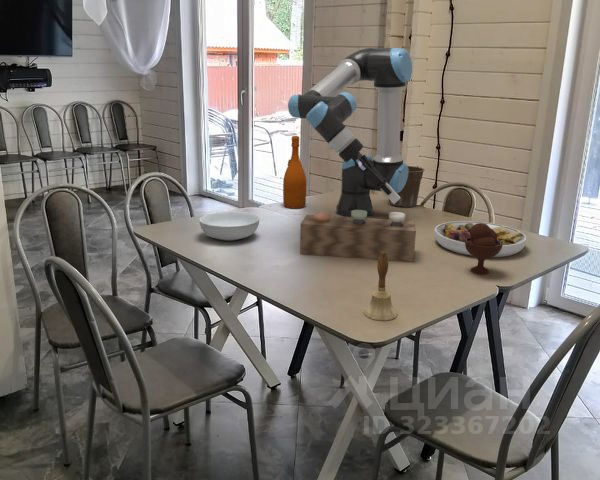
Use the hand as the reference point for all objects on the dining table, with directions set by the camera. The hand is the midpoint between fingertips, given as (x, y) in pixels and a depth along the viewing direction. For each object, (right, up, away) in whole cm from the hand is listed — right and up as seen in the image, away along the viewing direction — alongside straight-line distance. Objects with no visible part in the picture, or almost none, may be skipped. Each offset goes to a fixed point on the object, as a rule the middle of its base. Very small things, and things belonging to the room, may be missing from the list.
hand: (397, 200), depth 180 cm
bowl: (+31, -15, +16) cm, 38 cm away
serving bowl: (-55, -11, +21) cm, 60 cm away
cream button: (0, -10, +3) cm, 10 cm away
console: (-12, -16, +7) cm, 21 cm away
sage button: (-12, -9, +5) cm, 16 cm away
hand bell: (-11, -31, -39) cm, 51 cm away
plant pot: (+15, +3, +72) cm, 74 cm away
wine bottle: (-33, +2, +65) cm, 73 cm away
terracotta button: (-24, -10, +7) cm, 26 cm away
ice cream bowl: (+23, -22, -9) cm, 33 cm away
